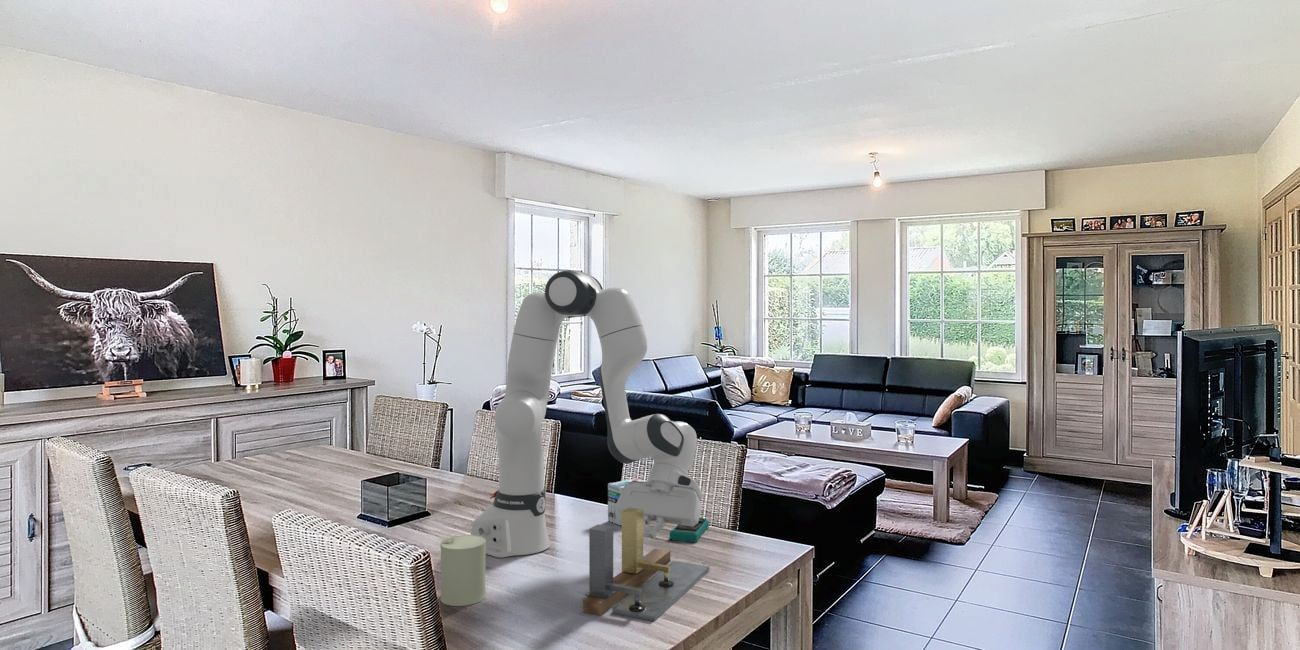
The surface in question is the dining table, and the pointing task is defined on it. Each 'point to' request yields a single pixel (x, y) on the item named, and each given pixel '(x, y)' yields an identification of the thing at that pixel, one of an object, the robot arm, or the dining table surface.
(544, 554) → the dining table surface
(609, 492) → the light bulb box
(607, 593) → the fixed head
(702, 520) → the digital multimeter
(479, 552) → the can
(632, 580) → the rail
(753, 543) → the dining table surface
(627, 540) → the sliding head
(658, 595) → the hole plate
